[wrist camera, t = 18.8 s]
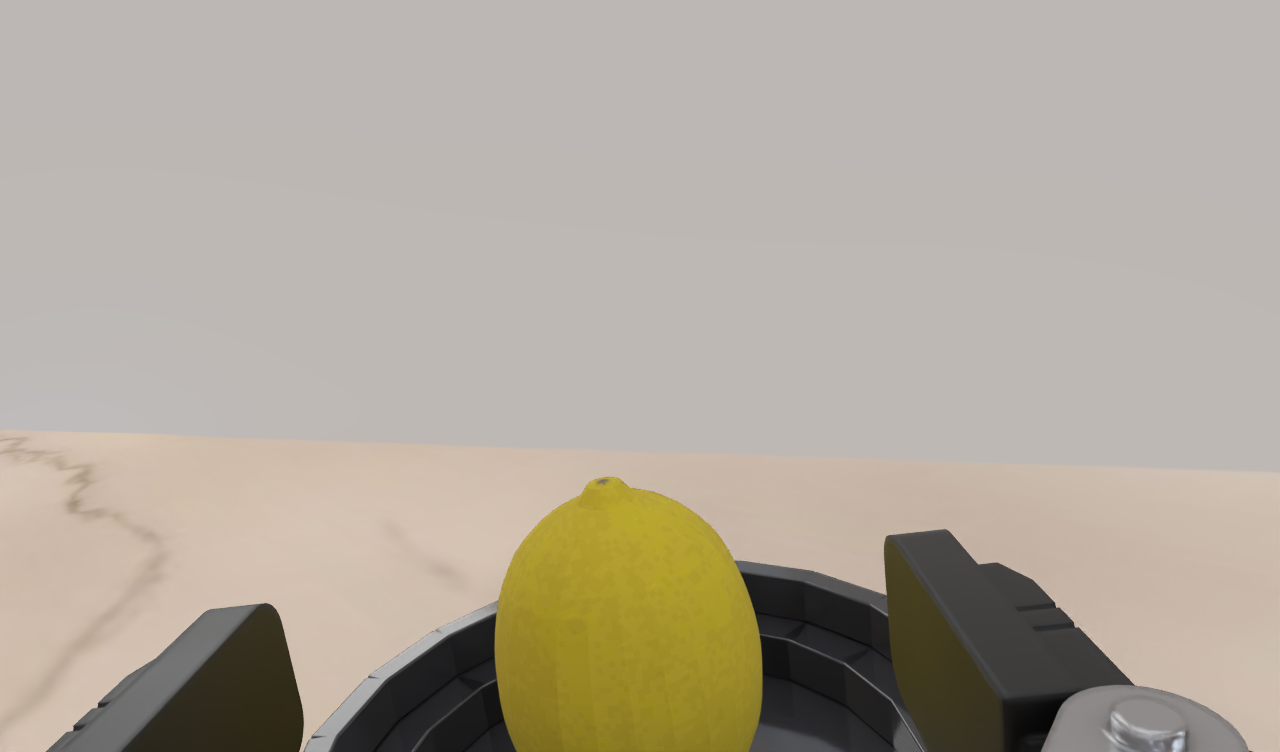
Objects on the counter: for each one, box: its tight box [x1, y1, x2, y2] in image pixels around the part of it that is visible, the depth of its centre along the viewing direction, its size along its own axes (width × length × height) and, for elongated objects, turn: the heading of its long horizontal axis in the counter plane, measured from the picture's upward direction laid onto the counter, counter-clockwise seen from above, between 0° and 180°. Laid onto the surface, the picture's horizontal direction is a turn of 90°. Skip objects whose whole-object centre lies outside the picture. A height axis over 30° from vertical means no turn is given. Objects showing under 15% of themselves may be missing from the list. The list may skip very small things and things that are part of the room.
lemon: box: [495, 477, 762, 752], centre depth 18 cm, size 6×6×8 cm
